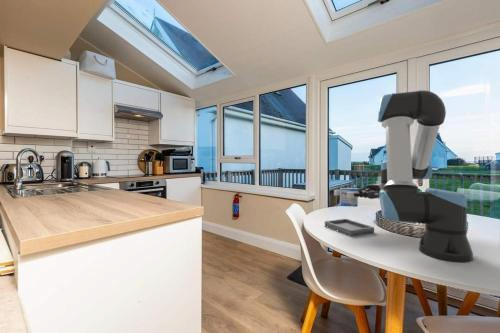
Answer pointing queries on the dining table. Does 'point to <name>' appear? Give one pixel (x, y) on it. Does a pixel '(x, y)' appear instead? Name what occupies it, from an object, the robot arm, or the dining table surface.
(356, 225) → the parts tray
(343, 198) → the medicine box
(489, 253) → the dining table surface
